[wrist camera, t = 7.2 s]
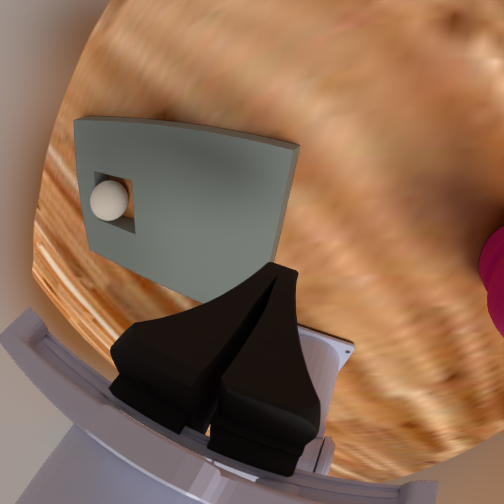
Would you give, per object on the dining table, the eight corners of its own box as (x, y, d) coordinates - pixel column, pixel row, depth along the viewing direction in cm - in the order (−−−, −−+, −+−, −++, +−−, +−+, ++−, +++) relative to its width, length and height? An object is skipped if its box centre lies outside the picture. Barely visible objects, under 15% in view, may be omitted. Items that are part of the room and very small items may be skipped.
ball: (92, 212, 26) (126, 203, 28) (96, 232, 23) (134, 222, 25) (86, 179, 23) (122, 170, 25) (88, 196, 21) (130, 185, 23)
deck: (261, 310, 27) (254, 324, 25) (100, 241, 32) (89, 249, 30) (300, 145, 18) (293, 150, 16) (88, 116, 22) (73, 119, 21)
